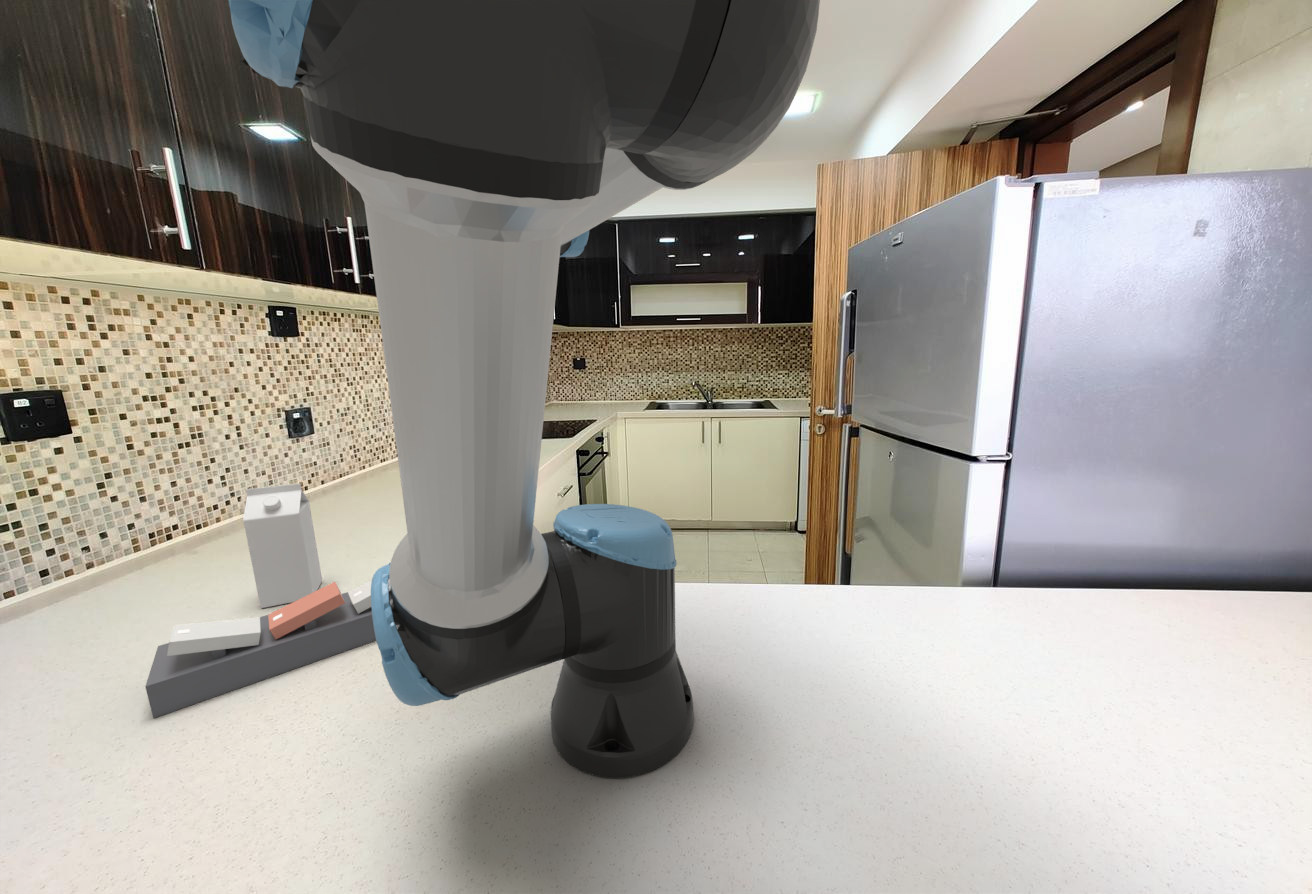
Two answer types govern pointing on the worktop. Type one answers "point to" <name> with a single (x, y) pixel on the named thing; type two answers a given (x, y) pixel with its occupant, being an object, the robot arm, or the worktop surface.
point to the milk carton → (281, 544)
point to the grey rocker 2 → (361, 597)
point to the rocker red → (305, 610)
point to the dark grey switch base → (253, 659)
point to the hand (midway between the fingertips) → (442, 491)
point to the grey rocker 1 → (214, 635)
